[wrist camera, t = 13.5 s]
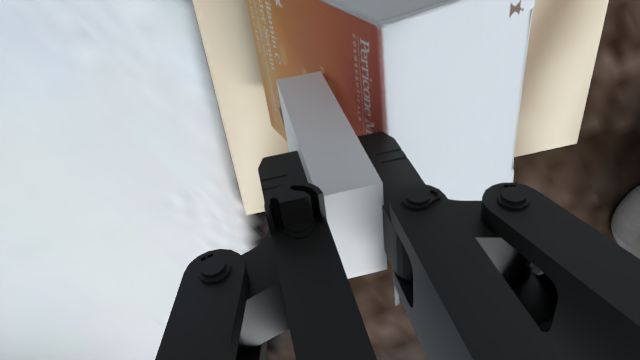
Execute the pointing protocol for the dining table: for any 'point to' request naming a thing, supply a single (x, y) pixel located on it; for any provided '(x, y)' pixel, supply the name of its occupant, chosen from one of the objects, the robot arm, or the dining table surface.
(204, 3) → the birch board
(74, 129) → the dining table surface
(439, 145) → the small box
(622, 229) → the cupcake
